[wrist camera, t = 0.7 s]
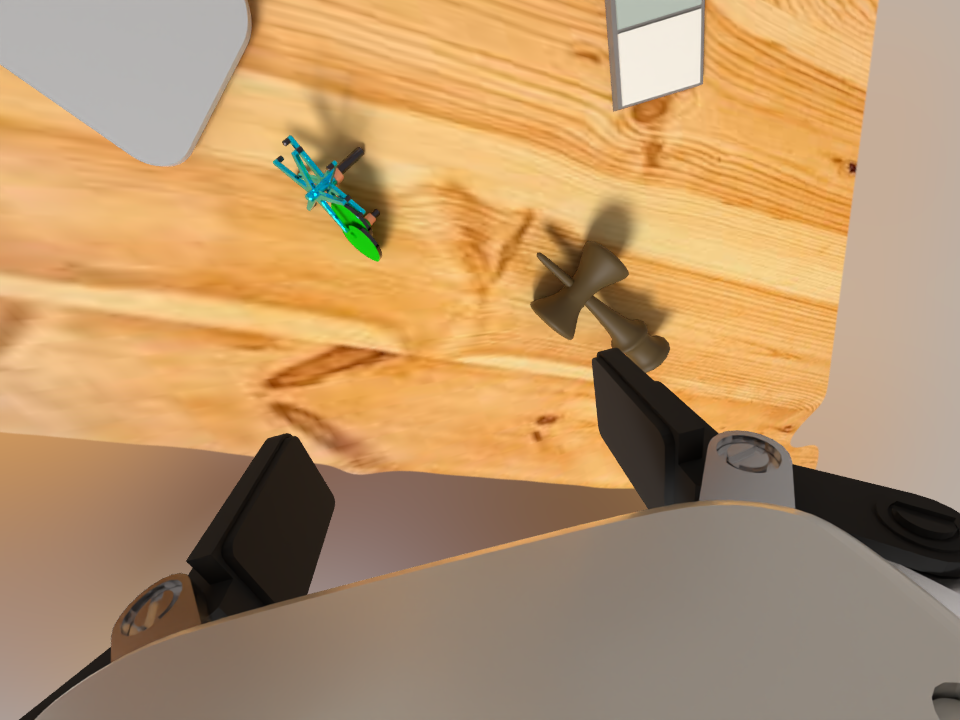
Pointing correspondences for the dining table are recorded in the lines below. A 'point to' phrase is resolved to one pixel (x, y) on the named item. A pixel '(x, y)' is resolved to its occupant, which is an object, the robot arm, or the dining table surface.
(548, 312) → the kendama
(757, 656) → the robot arm
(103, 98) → the tablet
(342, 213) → the stick construction toy
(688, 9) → the track board
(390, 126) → the dining table surface
